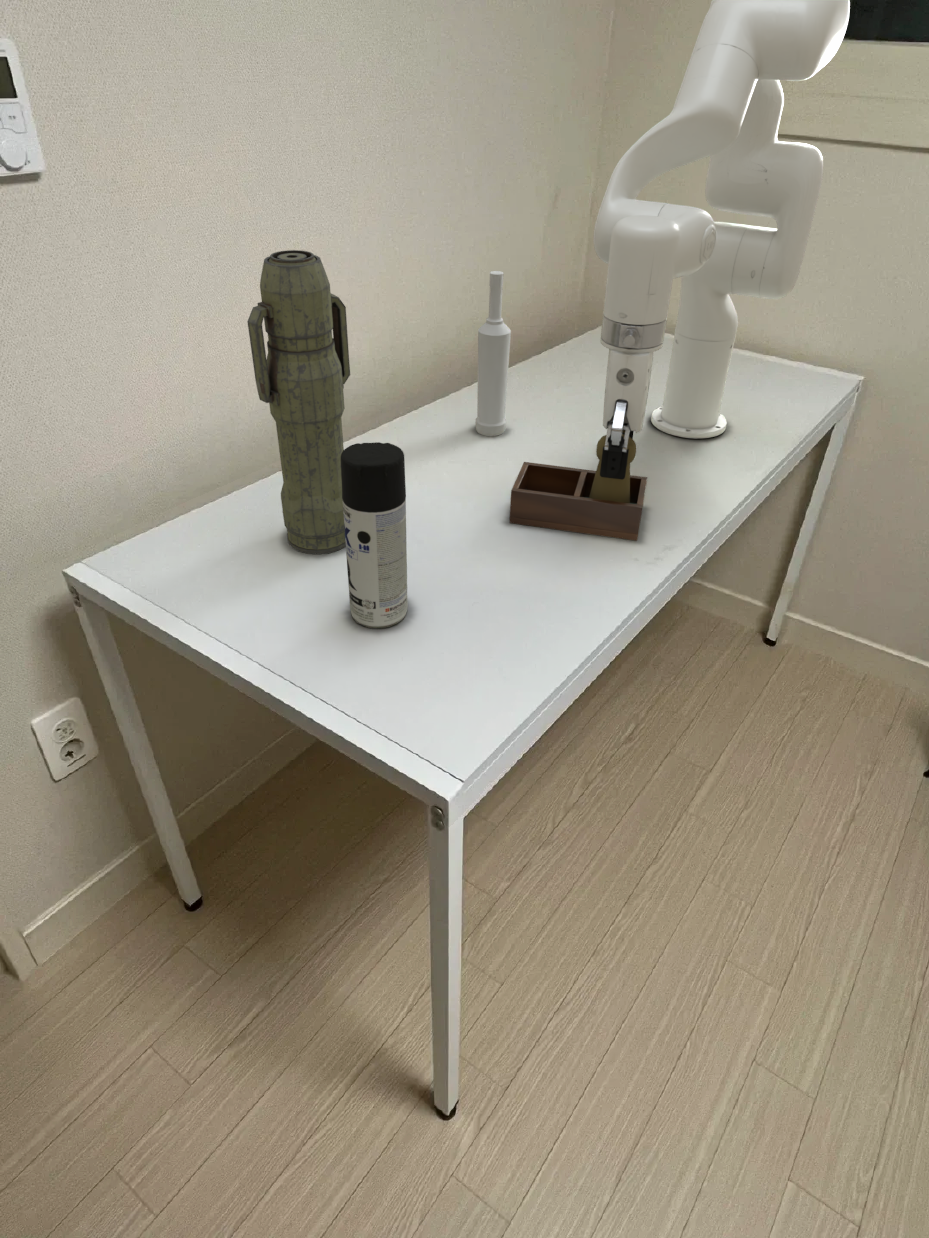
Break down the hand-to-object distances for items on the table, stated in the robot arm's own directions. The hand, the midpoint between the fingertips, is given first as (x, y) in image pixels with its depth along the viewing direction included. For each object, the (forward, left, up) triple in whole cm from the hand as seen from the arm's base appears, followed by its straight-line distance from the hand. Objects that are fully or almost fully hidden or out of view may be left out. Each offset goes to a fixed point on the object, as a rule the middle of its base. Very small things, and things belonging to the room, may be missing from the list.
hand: (616, 460), depth 110 cm
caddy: (+1, -4, -9) cm, 10 cm away
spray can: (+30, -23, -9) cm, 39 cm away
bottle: (-24, -22, -9) cm, 34 cm away
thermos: (+16, -36, -9) cm, 41 cm away
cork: (+1, 0, -8) cm, 8 cm away
